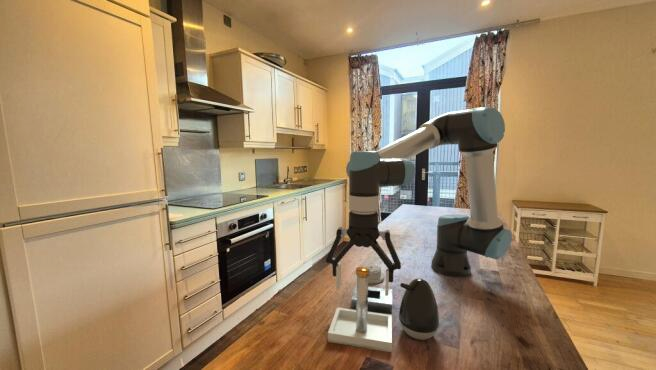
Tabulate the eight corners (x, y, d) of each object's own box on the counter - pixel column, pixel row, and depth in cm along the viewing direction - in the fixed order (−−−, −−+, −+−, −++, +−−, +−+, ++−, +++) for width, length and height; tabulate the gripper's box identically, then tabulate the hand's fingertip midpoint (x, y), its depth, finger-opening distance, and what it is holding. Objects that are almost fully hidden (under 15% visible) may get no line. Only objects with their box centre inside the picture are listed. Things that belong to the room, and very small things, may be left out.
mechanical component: (357, 283, 103) (384, 285, 101) (357, 271, 102) (384, 273, 100) (359, 271, 112) (383, 273, 111) (359, 261, 112) (383, 263, 110)
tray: (391, 322, 78) (391, 314, 78) (391, 352, 66) (391, 342, 66) (337, 315, 82) (337, 307, 81) (327, 341, 70) (327, 332, 70)
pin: (368, 326, 75) (370, 267, 73) (367, 335, 72) (369, 273, 70) (355, 324, 76) (356, 265, 74) (354, 332, 73) (355, 271, 71)
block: (391, 302, 89) (392, 289, 88) (391, 318, 80) (392, 304, 79) (355, 298, 91) (355, 285, 91) (351, 313, 83) (351, 299, 82)
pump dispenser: (392, 322, 78) (394, 271, 76) (427, 320, 79) (429, 270, 77) (405, 347, 68) (407, 289, 66) (445, 345, 69) (448, 288, 67)
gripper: (411, 210, 71) (408, 288, 74) (321, 206, 77) (321, 279, 79) (413, 216, 64) (410, 303, 66) (314, 211, 69) (314, 291, 72)
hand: (362, 290), depth 73 cm, fingers open, 12 cm apart
